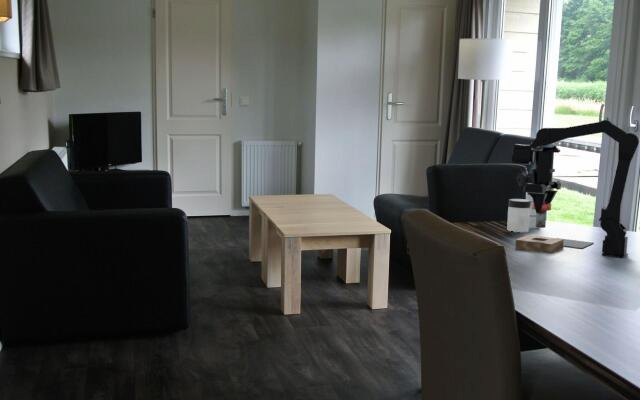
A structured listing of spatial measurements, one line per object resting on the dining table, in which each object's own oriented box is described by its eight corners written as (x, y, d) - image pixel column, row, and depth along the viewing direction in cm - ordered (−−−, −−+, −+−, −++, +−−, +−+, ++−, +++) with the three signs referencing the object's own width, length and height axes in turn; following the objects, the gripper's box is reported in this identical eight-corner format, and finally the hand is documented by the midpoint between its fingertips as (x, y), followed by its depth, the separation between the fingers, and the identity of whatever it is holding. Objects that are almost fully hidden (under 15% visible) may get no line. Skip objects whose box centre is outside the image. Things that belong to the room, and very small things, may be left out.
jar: (511, 232, 263) (513, 201, 261) (502, 229, 271) (504, 198, 269) (533, 232, 264) (535, 201, 263) (524, 229, 272) (526, 198, 271)
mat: (593, 243, 243) (593, 242, 243) (581, 249, 233) (582, 247, 233) (556, 239, 251) (556, 237, 251) (543, 244, 241) (543, 242, 241)
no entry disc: (534, 224, 237) (536, 200, 235) (552, 226, 233) (553, 202, 232) (528, 227, 232) (529, 202, 231) (546, 229, 228) (547, 204, 227)
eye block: (563, 247, 234) (563, 239, 234) (550, 253, 225) (551, 244, 225) (528, 243, 242) (529, 234, 241) (515, 248, 232) (515, 239, 232)
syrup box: (540, 228, 273) (542, 192, 271) (525, 228, 274) (527, 191, 272) (539, 226, 279) (541, 190, 277) (523, 225, 280) (525, 190, 278)
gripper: (530, 162, 242) (528, 207, 244) (509, 165, 227) (507, 212, 229) (562, 164, 235) (559, 210, 237) (543, 167, 221) (540, 216, 222)
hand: (541, 212), depth 232 cm, fingers closed on no entry disc, 6 cm apart
